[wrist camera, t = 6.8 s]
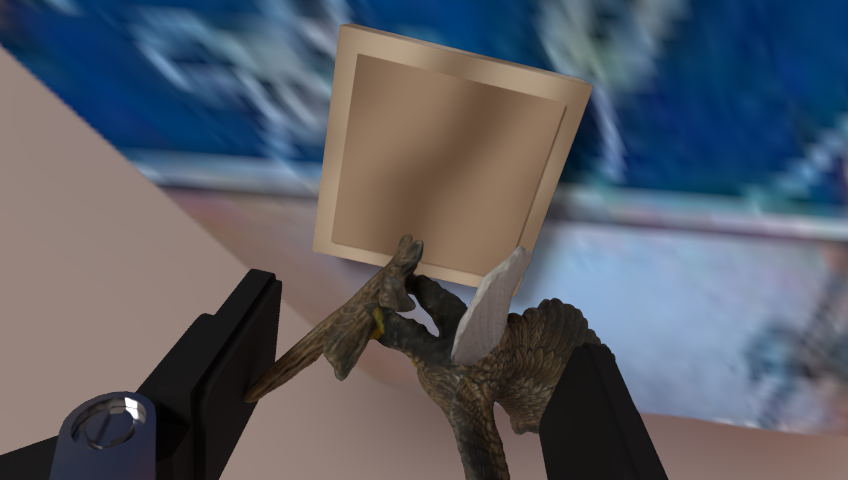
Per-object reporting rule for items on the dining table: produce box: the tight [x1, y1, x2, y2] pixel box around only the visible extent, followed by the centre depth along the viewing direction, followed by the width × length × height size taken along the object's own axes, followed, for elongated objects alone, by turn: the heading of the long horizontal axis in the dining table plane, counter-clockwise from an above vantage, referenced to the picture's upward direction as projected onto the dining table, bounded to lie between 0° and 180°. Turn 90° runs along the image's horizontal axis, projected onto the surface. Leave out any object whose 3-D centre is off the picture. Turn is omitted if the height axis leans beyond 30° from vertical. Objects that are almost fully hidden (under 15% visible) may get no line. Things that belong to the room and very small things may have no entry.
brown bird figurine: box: [243, 234, 616, 480], centre depth 12 cm, size 8×7×9 cm
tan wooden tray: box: [312, 23, 593, 296], centre depth 25 cm, size 12×12×3 cm
